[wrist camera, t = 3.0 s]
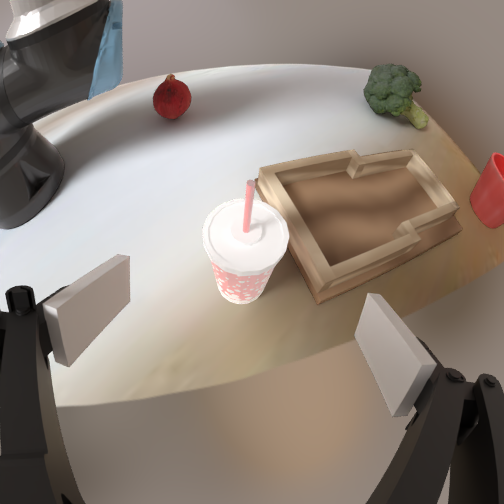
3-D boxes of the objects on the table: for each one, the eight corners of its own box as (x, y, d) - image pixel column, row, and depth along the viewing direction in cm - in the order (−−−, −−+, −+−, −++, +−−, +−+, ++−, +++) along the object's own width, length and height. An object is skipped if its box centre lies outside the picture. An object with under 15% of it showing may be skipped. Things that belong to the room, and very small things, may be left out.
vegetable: (430, 145, 40) (375, 83, 35) (391, 144, 52) (340, 96, 47) (452, 102, 38) (402, 43, 33) (413, 107, 50) (367, 60, 45)
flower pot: (505, 246, 34) (540, 215, 25) (465, 219, 35) (500, 181, 27) (498, 204, 38) (525, 174, 30) (460, 178, 40) (486, 142, 31)
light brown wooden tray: (253, 185, 34) (256, 163, 30) (399, 155, 40) (408, 138, 37) (317, 304, 27) (329, 291, 24) (458, 233, 33) (472, 218, 30)
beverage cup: (236, 324, 26) (243, 251, 13) (197, 277, 28) (174, 177, 15) (284, 285, 28) (326, 192, 16) (244, 243, 30) (255, 136, 18)
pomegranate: (189, 128, 39) (185, 83, 32) (152, 129, 38) (144, 86, 31) (195, 108, 42) (192, 66, 34) (161, 109, 41) (155, 69, 34)
